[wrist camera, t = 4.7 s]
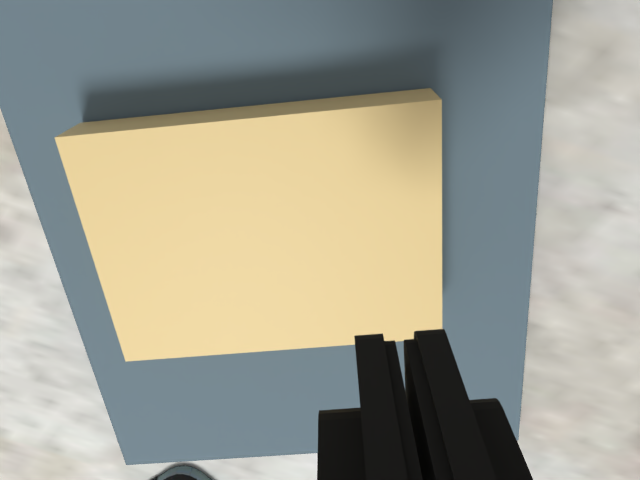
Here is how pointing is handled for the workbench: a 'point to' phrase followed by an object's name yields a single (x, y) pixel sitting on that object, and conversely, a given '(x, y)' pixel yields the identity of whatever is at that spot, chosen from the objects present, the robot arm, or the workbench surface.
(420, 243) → the beige rectangular block
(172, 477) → the smartphone
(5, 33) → the rubber mat
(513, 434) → the robot arm
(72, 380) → the workbench surface
